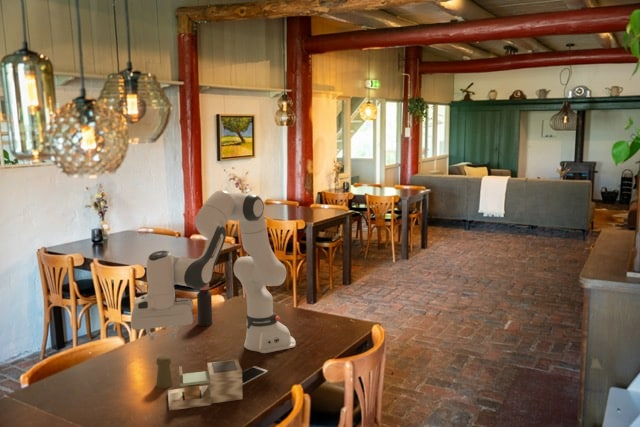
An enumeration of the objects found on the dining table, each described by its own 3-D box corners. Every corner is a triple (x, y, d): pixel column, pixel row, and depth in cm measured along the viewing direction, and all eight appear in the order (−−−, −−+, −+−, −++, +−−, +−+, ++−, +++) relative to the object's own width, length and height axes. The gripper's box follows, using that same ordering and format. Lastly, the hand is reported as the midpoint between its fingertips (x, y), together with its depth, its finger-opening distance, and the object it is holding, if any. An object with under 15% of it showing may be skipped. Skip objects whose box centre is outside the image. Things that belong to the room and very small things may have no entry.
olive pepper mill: (174, 380, 207) (173, 353, 205) (171, 388, 201) (169, 359, 199) (158, 380, 207) (157, 353, 205) (154, 388, 201) (153, 360, 199)
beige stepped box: (237, 385, 204) (237, 357, 202) (243, 400, 192) (242, 371, 190) (168, 394, 196) (166, 365, 195) (169, 410, 185) (167, 380, 183)
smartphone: (268, 370, 215) (241, 384, 203) (268, 372, 215) (241, 386, 203) (254, 365, 220) (227, 379, 208) (254, 367, 220) (227, 380, 208)
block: (198, 394, 196) (198, 379, 195) (199, 401, 191) (199, 385, 190) (184, 396, 195) (183, 380, 194) (185, 403, 190) (184, 387, 189)
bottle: (200, 321, 270) (199, 282, 267) (214, 322, 269) (213, 282, 266) (195, 326, 263) (194, 285, 260) (209, 327, 262) (208, 286, 259)
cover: (219, 372, 198) (218, 361, 198) (221, 381, 191) (221, 370, 191) (179, 377, 194) (178, 366, 194) (180, 386, 187) (179, 375, 187)
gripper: (192, 294, 191) (193, 332, 193) (130, 299, 185) (132, 338, 187) (193, 299, 185) (194, 338, 187) (129, 305, 179) (131, 345, 181)
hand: (163, 338), depth 187 cm, fingers open, 6 cm apart
